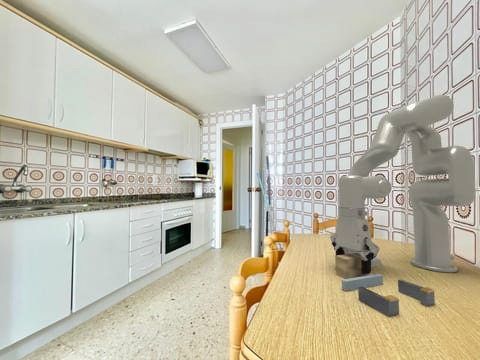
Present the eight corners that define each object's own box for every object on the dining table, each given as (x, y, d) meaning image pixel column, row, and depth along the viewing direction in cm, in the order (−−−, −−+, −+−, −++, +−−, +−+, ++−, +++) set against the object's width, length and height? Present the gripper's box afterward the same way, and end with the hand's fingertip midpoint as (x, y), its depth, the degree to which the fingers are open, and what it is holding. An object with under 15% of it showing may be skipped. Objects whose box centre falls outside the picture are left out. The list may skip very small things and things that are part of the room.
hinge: (355, 271, 68) (345, 240, 72) (343, 271, 72) (334, 242, 76) (382, 264, 76) (372, 236, 80) (370, 265, 80) (361, 238, 84)
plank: (378, 282, 60) (378, 273, 60) (383, 284, 58) (382, 275, 59) (341, 289, 55) (341, 279, 55) (345, 291, 54) (345, 281, 54)
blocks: (401, 290, 55) (400, 277, 55) (435, 304, 48) (434, 289, 48) (358, 300, 49) (358, 285, 50) (389, 317, 42) (389, 299, 43)
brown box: (358, 271, 69) (358, 252, 69) (370, 275, 65) (369, 256, 66) (335, 274, 65) (335, 255, 66) (346, 279, 62) (345, 259, 62)
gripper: (386, 216, 60) (388, 277, 59) (339, 211, 76) (339, 259, 75) (367, 216, 57) (369, 279, 56) (323, 211, 74) (323, 260, 72)
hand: (352, 267), depth 65 cm, fingers open, 9 cm apart
